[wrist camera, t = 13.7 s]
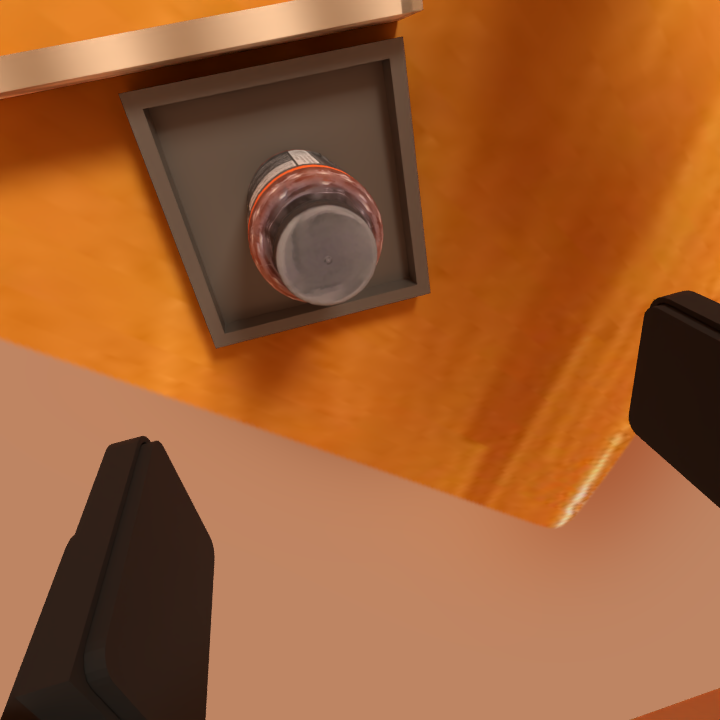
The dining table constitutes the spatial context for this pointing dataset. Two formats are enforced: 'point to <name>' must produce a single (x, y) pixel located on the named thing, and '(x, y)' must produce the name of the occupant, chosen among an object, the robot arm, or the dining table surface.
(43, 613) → the robot arm
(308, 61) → the tray
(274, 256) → the supplement bottle
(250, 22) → the bay
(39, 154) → the dining table surface
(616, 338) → the dining table surface
